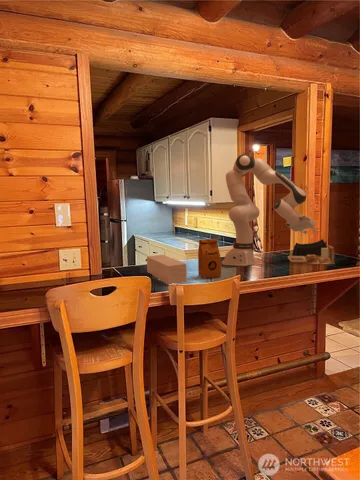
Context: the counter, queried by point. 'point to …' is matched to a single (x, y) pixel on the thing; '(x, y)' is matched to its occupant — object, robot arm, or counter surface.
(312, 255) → the oak offcut
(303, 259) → the tray
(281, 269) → the counter surface
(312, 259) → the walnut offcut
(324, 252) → the board
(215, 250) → the coffee package
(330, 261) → the rack
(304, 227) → the robot arm
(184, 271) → the pinkish brown block
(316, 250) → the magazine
